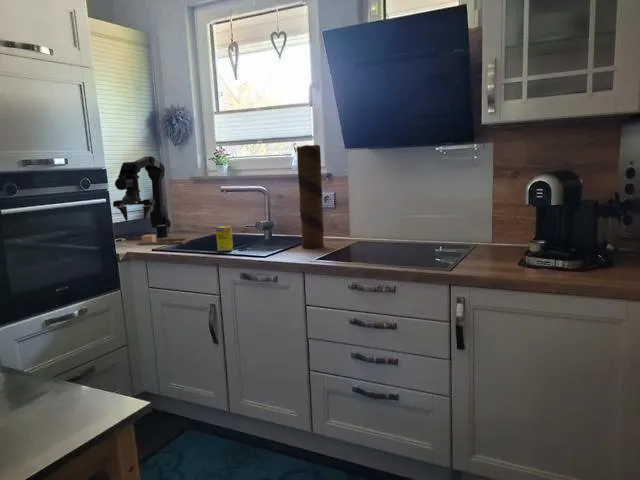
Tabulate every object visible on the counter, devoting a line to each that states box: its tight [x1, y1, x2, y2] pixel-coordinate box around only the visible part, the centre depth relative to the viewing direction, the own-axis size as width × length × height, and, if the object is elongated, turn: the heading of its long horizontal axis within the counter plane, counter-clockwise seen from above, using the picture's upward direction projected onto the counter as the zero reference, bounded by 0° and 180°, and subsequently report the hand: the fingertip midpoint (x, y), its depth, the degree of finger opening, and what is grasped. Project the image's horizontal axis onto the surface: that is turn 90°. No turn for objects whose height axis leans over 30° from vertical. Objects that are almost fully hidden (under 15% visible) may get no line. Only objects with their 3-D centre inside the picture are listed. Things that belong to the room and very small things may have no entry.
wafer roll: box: [296, 144, 325, 249], centre depth 229 cm, size 10×11×45 cm
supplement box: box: [215, 225, 234, 253], centre depth 230 cm, size 6×6×11 cm
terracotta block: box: [141, 234, 157, 243], centre depth 256 cm, size 5×5×4 cm
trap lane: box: [137, 237, 191, 247], centre depth 256 cm, size 12×22×2 cm, turn 87°
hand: (136, 220), depth 252 cm, fingers open, 9 cm apart
